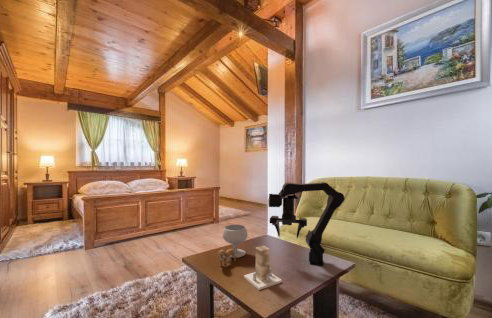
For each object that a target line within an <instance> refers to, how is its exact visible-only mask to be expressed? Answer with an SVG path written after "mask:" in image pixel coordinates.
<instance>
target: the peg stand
mask: <svg viewBox="0 0 492 318" xmlns="http://www.w3.org/2000/svg"><path fill="white" fill-rule="evenodd" d="M272 269H273V268H272V267H270V274H267V275H266V280H264V281H260V280H259V279H258V278H256V271H254V272H251V273H247V274H244V275H243V278H244V279H245V280H246V281H248V282H249V283H250V284H251V285H252V286H253V287H255V288H256V289H257V290H258V291H260V290H263V289H266V288H270V287H273V286H275V285H278V284H281V283H282V282H283V280H282V279H281V278H280V277H278V276H276V274H274V273H273V270H272Z"/></svg>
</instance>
